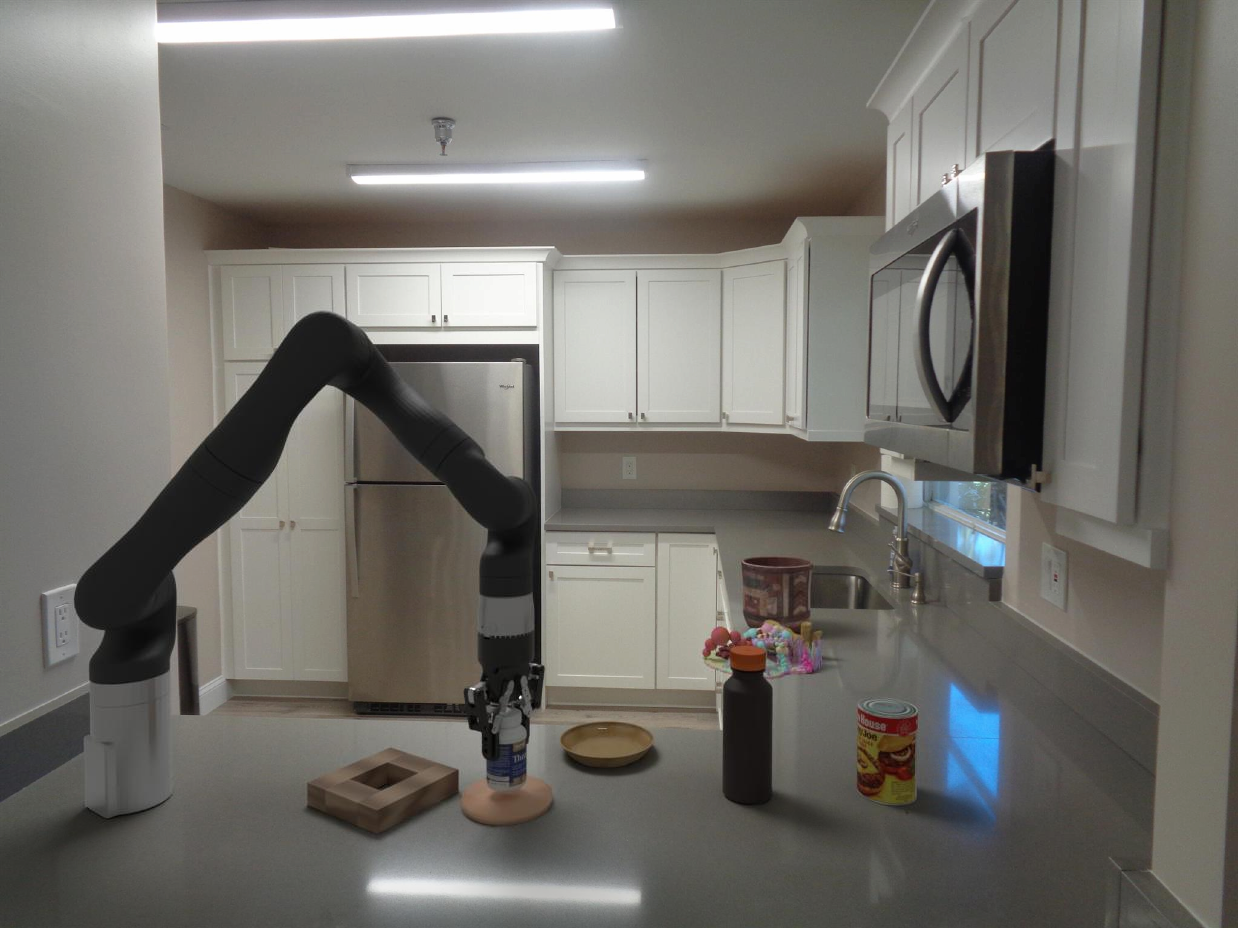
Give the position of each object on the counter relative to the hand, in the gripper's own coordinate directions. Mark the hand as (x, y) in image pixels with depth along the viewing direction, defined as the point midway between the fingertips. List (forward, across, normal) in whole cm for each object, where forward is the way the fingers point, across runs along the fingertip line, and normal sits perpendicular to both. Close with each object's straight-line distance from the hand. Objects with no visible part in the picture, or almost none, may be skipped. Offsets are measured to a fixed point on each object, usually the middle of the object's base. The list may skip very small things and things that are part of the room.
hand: (506, 750), depth 103 cm
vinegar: (+7, -20, +26) cm, 34 cm away
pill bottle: (+5, 0, 0) cm, 5 cm away
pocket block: (+7, +8, -15) cm, 18 cm away
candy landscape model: (+8, -80, +4) cm, 81 cm away
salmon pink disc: (+7, 0, 0) cm, 7 cm away
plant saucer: (+8, -21, +2) cm, 22 cm away
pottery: (+7, -107, -3) cm, 107 cm away
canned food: (+7, -31, +42) cm, 53 cm away
